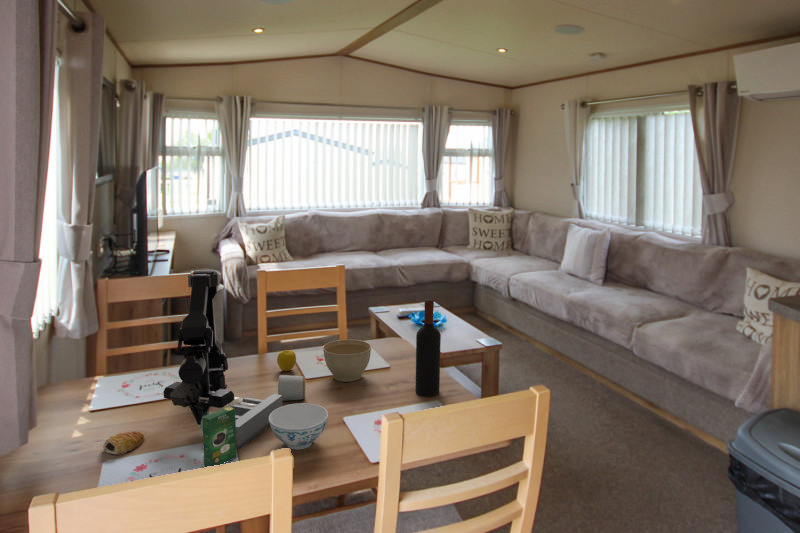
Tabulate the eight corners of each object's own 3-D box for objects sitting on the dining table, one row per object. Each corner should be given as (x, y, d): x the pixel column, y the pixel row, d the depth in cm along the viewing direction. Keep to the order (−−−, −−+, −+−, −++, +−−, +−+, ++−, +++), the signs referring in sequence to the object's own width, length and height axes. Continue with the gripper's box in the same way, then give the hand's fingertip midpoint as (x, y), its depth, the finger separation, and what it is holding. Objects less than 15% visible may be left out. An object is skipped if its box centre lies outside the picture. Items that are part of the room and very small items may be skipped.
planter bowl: (376, 370, 198) (376, 341, 196) (363, 388, 183) (363, 356, 181) (333, 366, 202) (332, 337, 200) (316, 383, 186) (315, 352, 184)
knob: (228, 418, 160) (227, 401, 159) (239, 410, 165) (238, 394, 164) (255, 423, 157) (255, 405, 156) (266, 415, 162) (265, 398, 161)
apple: (274, 373, 195) (274, 351, 193) (281, 366, 201) (281, 345, 199) (292, 374, 194) (292, 352, 192) (299, 368, 200) (298, 346, 198)
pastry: (133, 436, 150) (132, 422, 150) (151, 442, 147) (150, 428, 147) (100, 451, 142) (99, 437, 142) (118, 458, 139) (117, 444, 138)
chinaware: (269, 432, 153) (268, 405, 151) (325, 427, 156) (325, 400, 155) (269, 461, 138) (268, 431, 137) (331, 454, 142) (331, 425, 140)
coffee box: (230, 453, 142) (227, 404, 139) (238, 457, 140) (235, 407, 138) (203, 468, 135) (200, 416, 132) (211, 471, 133) (208, 419, 131)
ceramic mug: (305, 403, 171) (305, 379, 170) (277, 405, 170) (277, 380, 169) (305, 390, 181) (305, 367, 180) (279, 391, 180) (278, 368, 179)
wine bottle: (411, 394, 178) (413, 301, 173) (420, 386, 185) (421, 296, 180) (434, 398, 175) (436, 304, 170) (442, 389, 182) (444, 298, 177)
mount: (203, 441, 147) (202, 420, 146) (249, 409, 167) (248, 389, 166) (239, 449, 144) (238, 427, 143) (282, 414, 163) (282, 395, 162)
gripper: (146, 375, 146) (150, 431, 148) (207, 385, 140) (210, 444, 142) (176, 361, 156) (179, 414, 159) (234, 369, 150) (236, 425, 153)
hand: (200, 424), depth 153 cm, fingers closed
